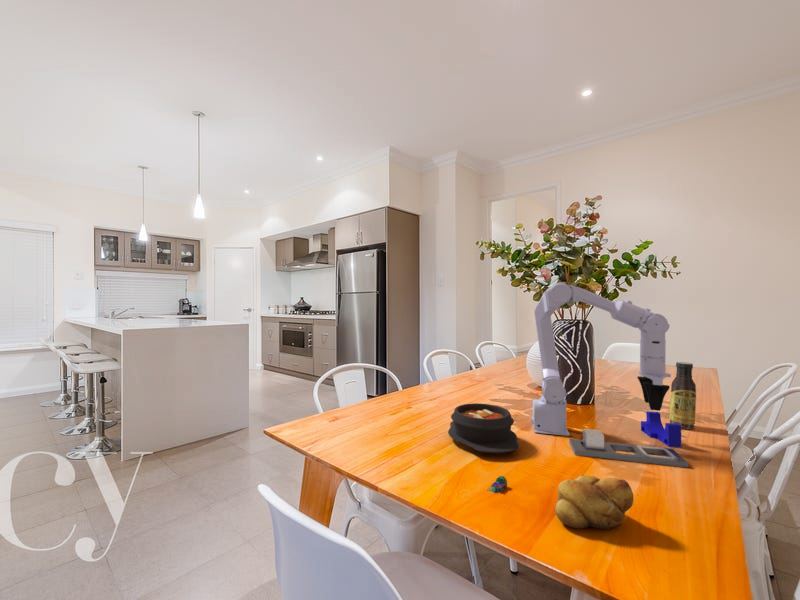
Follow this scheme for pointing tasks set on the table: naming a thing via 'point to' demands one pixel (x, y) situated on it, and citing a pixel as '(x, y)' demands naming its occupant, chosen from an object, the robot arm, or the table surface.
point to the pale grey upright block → (593, 440)
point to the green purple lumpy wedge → (498, 485)
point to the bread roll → (593, 502)
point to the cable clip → (661, 430)
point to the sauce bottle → (683, 397)
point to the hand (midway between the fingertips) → (652, 406)
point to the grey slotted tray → (639, 451)
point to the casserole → (483, 428)
